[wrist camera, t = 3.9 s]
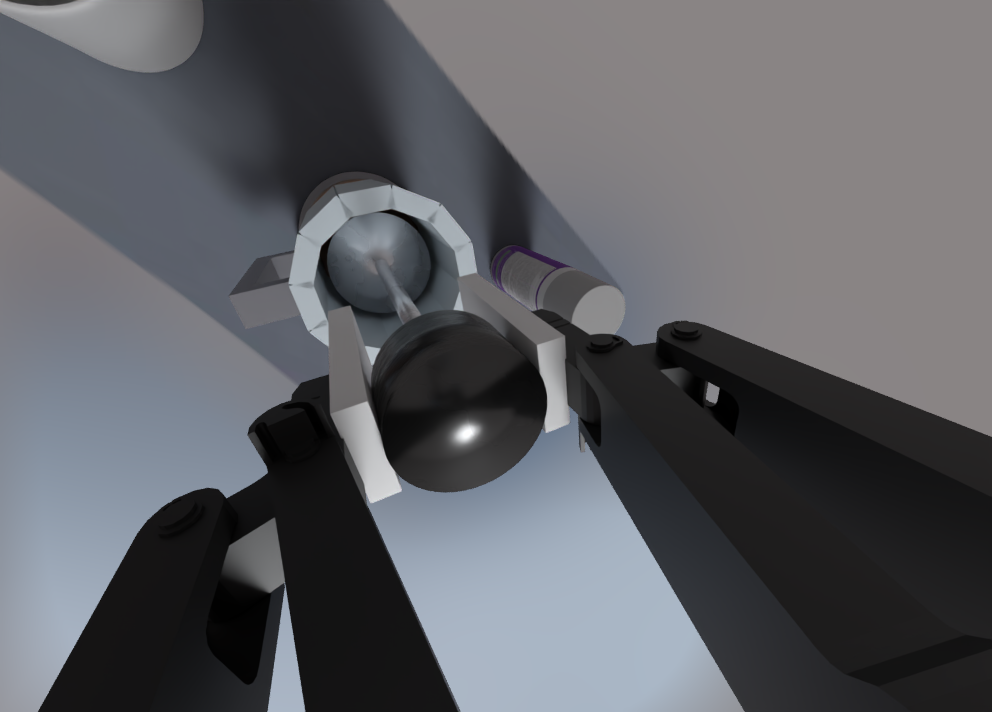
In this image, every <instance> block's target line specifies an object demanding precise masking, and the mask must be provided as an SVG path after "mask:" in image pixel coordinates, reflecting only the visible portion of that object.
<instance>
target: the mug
mask: <svg viewBox="0 0 992 712" xmlns="http://www.w3.org/2000/svg"><path fill="white" fill-rule="evenodd" d="M0 13H2V14H4V15H7V16H9V17H11V18H13V19H15V20H17V21H19V22H21V23H23V24H26V25H28V26H30V27H32V28H34V29H36V30H38V31H40V32H43V33H45V34H47V35H49V36H51V37H53V38H55V39H57V40H59V41H62V42H64V43H66V44H68V45H70V46H72V47H74V48H76V49H78V50H80V51H82V52H84V53H86V54H87V55H89V56H91V57H93V58H95V59H97V60H100V61H102V62H104V63H107V64H109V65H112V66H115V67H118V68H121V69H125V70H130V71H135V72H145V73H151V72H161V71H166V70H169V69H172V68H175V67H177V66H179V65H180V64H182V63H184V62H185V61H186V60H187V59H188V58H189V57H190V56H191V55H192V54H193V52H194V51H195V50H196V48H197V46H198V44H199V42H200V39H201V36H202V32H203V24H204V10H203V2H202V0H0Z"/></svg>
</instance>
